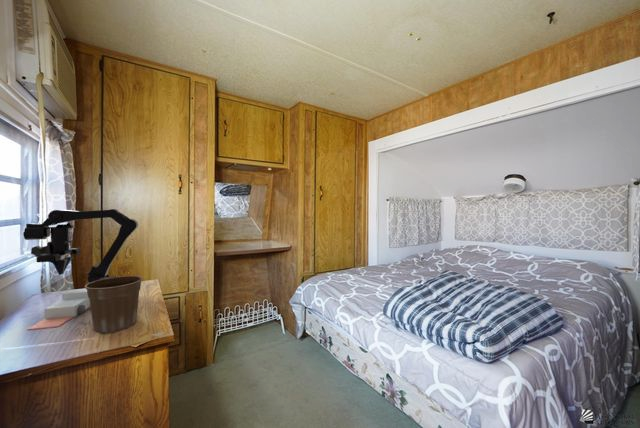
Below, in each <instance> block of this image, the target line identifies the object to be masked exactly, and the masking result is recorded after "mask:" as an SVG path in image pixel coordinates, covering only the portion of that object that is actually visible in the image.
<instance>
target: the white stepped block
mask: <svg viewBox="0 0 640 428" xmlns="http://www.w3.org/2000/svg"><path fill="white" fill-rule="evenodd" d="M61 298H62V299H61V300H59V301H57V302H55V303H53V304H52V305H49V306H48V307H46V308H44V319H52V318H63V317H73V316H74V318H75V317H76V316H78V315H83V314H84V313H85V311H86V310H87V309H89V308H91V307H90V300H89V298H88V294H87V289H86V288H79V289H69V290H66V291H65V292H62V293H61Z"/></svg>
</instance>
